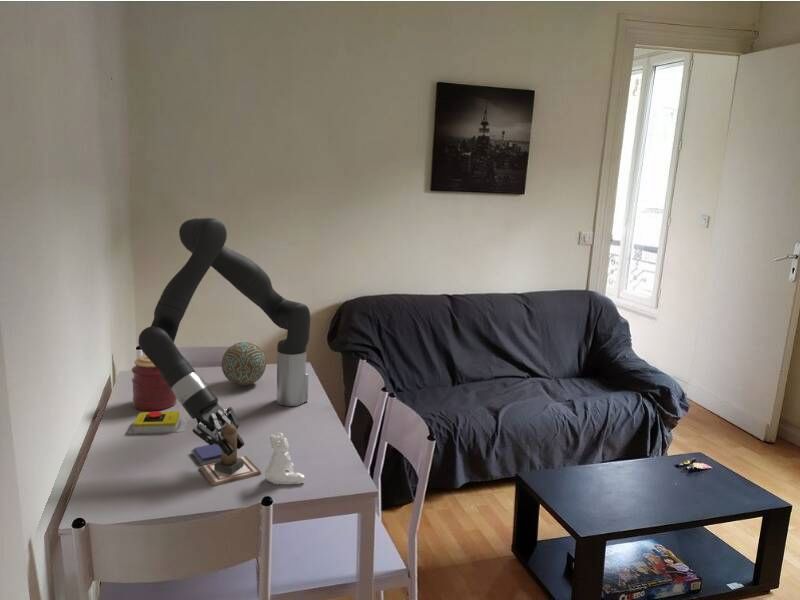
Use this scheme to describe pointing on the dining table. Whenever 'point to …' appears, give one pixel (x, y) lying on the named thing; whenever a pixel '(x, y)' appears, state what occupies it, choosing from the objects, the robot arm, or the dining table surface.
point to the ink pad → (207, 454)
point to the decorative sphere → (243, 363)
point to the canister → (150, 387)
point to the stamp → (231, 462)
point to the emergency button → (158, 423)
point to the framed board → (223, 477)
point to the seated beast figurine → (281, 463)
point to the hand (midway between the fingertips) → (236, 450)
